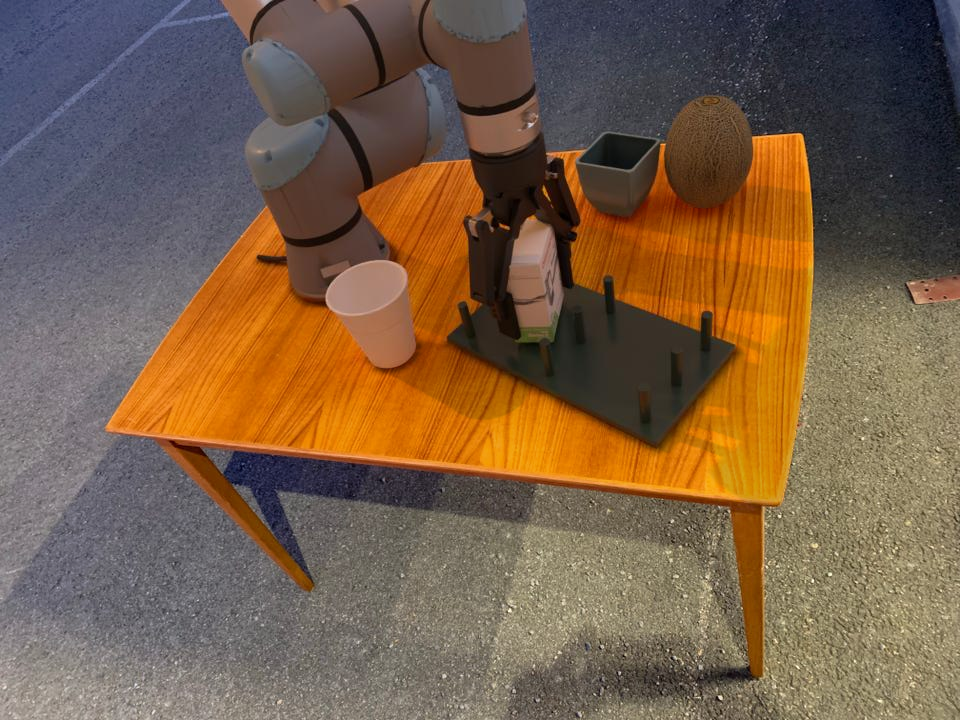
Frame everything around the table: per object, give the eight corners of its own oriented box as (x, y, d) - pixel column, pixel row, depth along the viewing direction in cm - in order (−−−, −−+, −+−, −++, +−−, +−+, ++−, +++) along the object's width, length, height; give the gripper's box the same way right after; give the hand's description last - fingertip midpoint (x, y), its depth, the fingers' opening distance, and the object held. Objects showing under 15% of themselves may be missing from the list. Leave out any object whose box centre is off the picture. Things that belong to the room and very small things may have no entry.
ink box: (554, 344, 81) (540, 264, 73) (513, 343, 82) (494, 265, 74) (565, 295, 86) (553, 216, 78) (526, 295, 88) (510, 217, 80)
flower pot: (608, 184, 105) (604, 129, 98) (663, 194, 100) (662, 138, 94) (579, 217, 100) (572, 161, 94) (635, 229, 96) (632, 172, 89)
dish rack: (447, 342, 87) (436, 307, 83) (527, 270, 94) (520, 234, 90) (656, 448, 70) (655, 410, 66) (735, 350, 77) (738, 310, 73)
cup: (342, 354, 90) (311, 289, 82) (405, 315, 93) (381, 249, 85) (379, 394, 83) (349, 328, 76) (446, 350, 86) (423, 282, 79)
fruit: (751, 223, 92) (760, 117, 81) (663, 226, 95) (661, 125, 84) (747, 175, 99) (755, 73, 89) (666, 180, 102) (664, 82, 92)
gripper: (455, 207, 61) (501, 379, 76) (602, 92, 70) (616, 265, 86) (399, 188, 65) (453, 354, 81) (544, 82, 75) (568, 249, 90)
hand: (537, 308), depth 83 cm, fingers closed on ink box, 9 cm apart
